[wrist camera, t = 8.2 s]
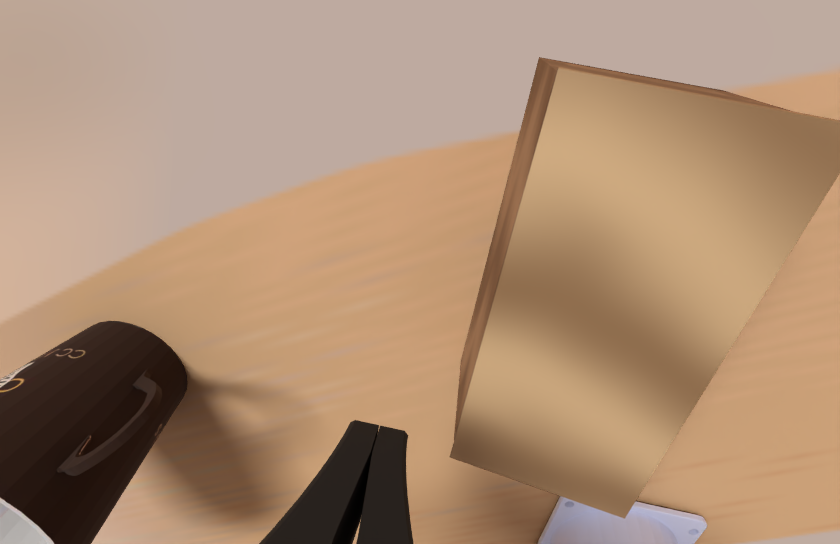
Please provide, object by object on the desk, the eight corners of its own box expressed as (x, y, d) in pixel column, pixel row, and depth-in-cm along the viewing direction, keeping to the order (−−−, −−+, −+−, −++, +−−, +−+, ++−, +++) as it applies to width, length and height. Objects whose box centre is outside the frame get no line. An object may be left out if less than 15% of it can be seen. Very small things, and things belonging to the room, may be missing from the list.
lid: (623, 504, 17) (624, 518, 17) (452, 445, 19) (449, 457, 18) (853, 123, 10) (867, 127, 10) (559, 67, 12) (558, 68, 11)
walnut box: (587, 387, 23) (610, 474, 18) (460, 361, 23) (453, 439, 19) (722, 90, 16) (809, 116, 12) (539, 57, 16) (556, 70, 12)
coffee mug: (100, 419, 29) (-67, 587, 21) (34, 303, 25) (-207, 452, 17) (271, 425, 27) (168, 614, 19) (229, 302, 23) (73, 469, 15)
